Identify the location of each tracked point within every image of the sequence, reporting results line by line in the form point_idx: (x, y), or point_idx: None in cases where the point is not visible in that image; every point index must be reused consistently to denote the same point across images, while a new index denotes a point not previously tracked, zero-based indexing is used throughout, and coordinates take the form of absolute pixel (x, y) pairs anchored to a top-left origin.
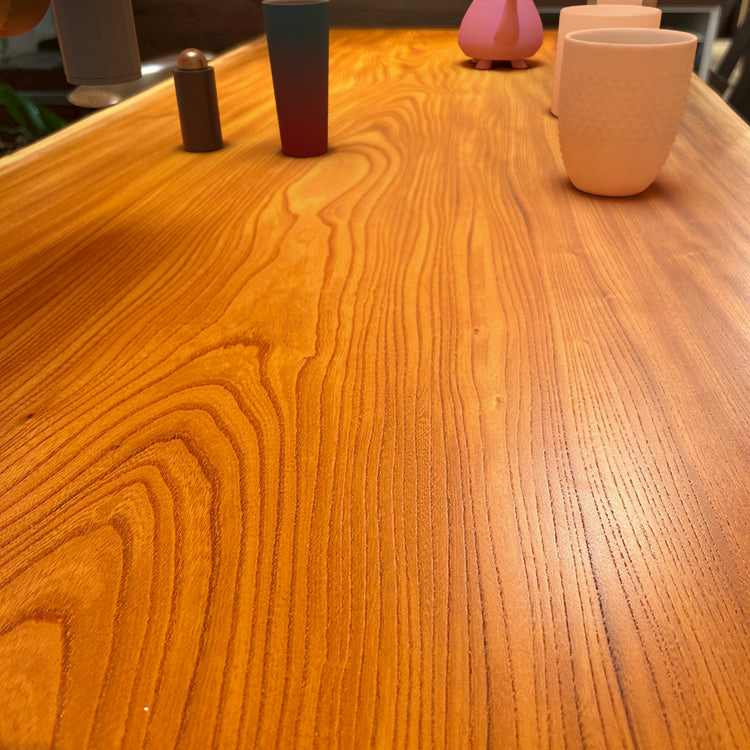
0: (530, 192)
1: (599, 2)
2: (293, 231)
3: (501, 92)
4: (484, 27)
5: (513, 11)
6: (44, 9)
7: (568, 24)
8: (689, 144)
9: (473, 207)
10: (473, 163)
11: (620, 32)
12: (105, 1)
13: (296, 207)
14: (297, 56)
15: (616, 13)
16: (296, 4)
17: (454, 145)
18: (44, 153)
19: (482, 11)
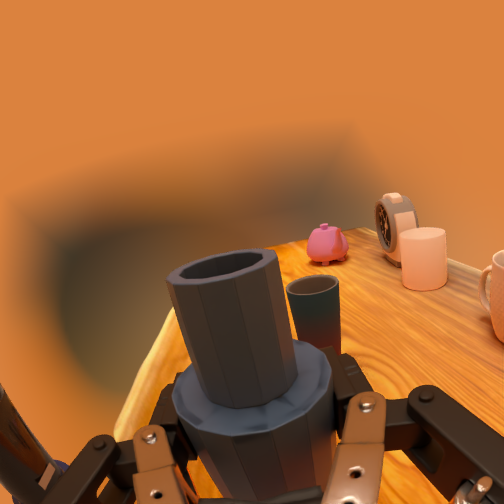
0: (496, 359)
1: (399, 228)
2: (435, 488)
3: (360, 279)
4: (325, 246)
5: (340, 237)
6: None
7: (414, 244)
8: (487, 289)
9: (494, 390)
10: (437, 347)
11: (499, 254)
12: (328, 474)
13: (401, 456)
14: (328, 325)
15: (414, 232)
16: (326, 290)
17: (404, 334)
18: (134, 422)
19: (321, 239)
